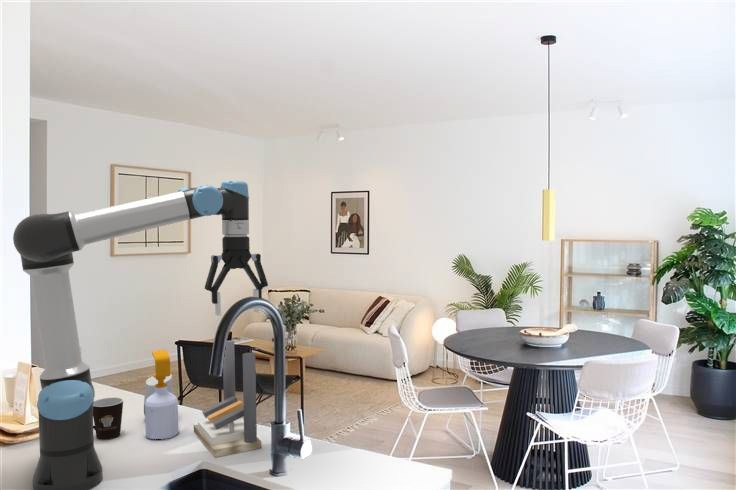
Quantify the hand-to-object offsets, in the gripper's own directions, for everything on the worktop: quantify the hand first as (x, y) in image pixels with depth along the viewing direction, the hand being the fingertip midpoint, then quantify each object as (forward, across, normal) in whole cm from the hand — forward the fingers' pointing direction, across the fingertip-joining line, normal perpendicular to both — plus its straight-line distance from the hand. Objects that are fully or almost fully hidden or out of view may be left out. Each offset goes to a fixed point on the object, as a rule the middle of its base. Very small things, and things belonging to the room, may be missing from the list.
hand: (237, 313), depth 175 cm
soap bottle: (+36, -19, +14) cm, 43 cm away
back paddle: (+28, -4, +5) cm, 29 cm away
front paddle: (+28, -4, -6) cm, 29 cm away
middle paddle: (+28, -4, 0) cm, 28 cm away
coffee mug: (+36, -34, +22) cm, 54 cm away
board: (+36, -4, 0) cm, 36 cm away
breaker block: (+34, -4, 0) cm, 34 cm away
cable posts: (+34, 0, 0) cm, 34 cm away
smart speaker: (+36, -17, +28) cm, 48 cm away
